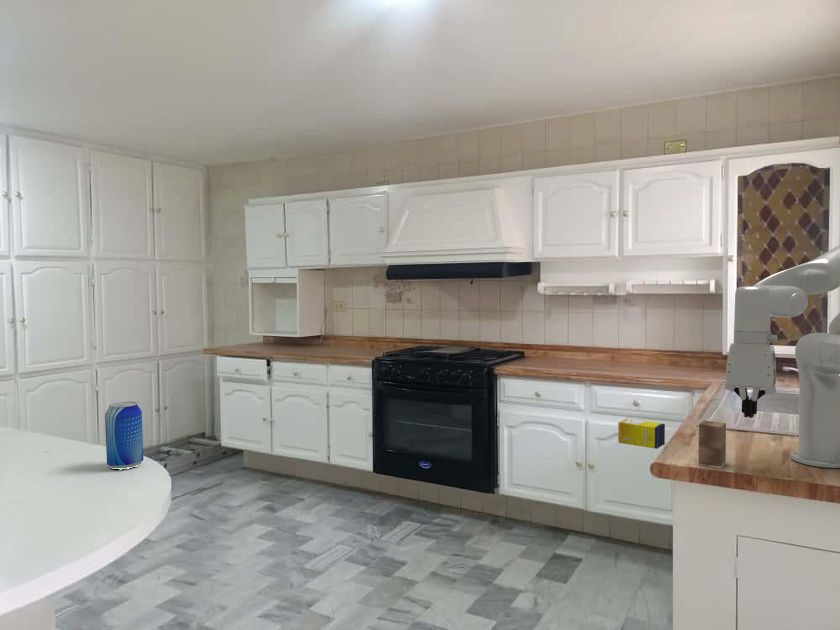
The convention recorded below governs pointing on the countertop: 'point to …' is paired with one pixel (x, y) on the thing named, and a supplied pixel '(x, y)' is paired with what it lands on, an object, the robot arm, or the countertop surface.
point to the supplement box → (641, 433)
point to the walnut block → (712, 444)
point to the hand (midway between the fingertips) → (749, 416)
